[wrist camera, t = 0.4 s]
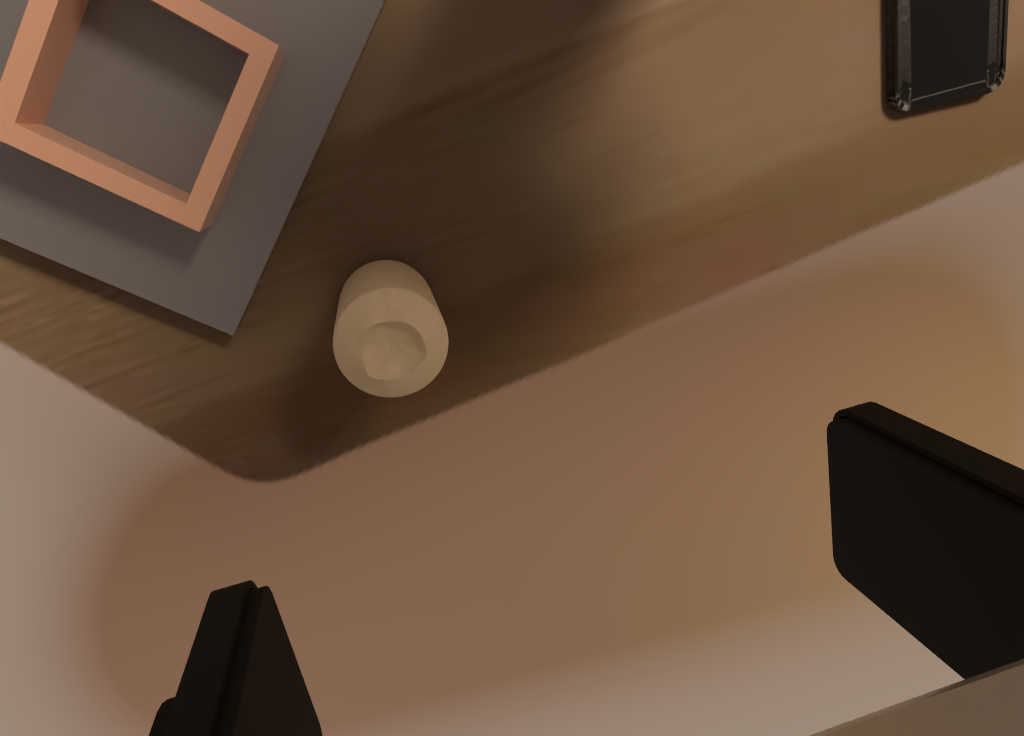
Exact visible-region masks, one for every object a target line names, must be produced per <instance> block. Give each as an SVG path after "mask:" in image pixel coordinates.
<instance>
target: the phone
mask: <svg viewBox="0 0 1024 736" xmlns="http://www.w3.org/2000/svg"><path fill="white" fill-rule="evenodd" d="M1008 3H1009V0H886V83H887V102H888V104H889V106H890V107H891V108H892V109H893V110H895V111H898V112H901V111H914V110H918V109H923V108H927V107H931V106H936V105H940V104H944V103H949V102H953V101H957V100H962V99H966V98H970V97H975V96H979V95H983V94H988V93H990V92H993V91H994V90H996V89H997V88H998V87H999V85H1000V84H1001V83H1002V81H1003V78H1004V75H1005V66H1006V45H1007V24H1008Z"/></svg>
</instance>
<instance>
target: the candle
mask: <svg viewBox="0 0 1024 736" xmlns="http://www.w3.org/2000/svg"><path fill="white" fill-rule="evenodd" d="M448 344H449V339H448V332H447V328H446V325H445V322H444V320H443V317H442V315H441V313H440V310H439V308H438V306H437V303H436V301H435V299H434V296H433V294H432V292H431V289H430V288H429V286H428V284H427V282H426V281H425V279H424V278H423V277H422V276H421V275H420V274H419V272H417V271H416V270H415V269H414V268H412V267H410V266H409V265H406V264H404V263H402V262H398V261H393V260H378V261H373V262H370V263H367V264H365V265H363V266H361V267H360V268H358V269H357V270H356V271H354V272H353V273H352V274H351V275H350V277H349V278H348V279H347V281H346V282H345V284H344V286H343V288H342V291H341V294H340V298H339V303H338V309H337V315H336V321H335V327H334V334H333V351H334V356H335V359H336V362H337V364H338V366H339V368H340V370H341V372H342V373H343V375H344V376H345V377H346V378H347V379H348V380H349V381H350V382H351V383H352V384H353V385H354V386H356V387H357V388H359V389H361V390H362V391H364V392H366V393H369V394H372V395H375V396H380V397H401V396H406V395H409V394H412V393H414V392H417V391H419V390H420V389H422V388H424V387H425V386H427V385H428V384H429V383H430V382H431V381H432V380H433V379H434V378H435V377H436V376H437V375H438V373H439V372H440V370H441V369H442V367H443V365H444V363H445V360H446V357H447V353H448Z"/></svg>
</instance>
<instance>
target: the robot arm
mask: <svg viewBox="0 0 1024 736" xmlns="http://www.w3.org/2000/svg"><path fill="white" fill-rule="evenodd" d="M827 445H828V465H829V484H830V503H831V521H832V522H831V523H832V542H833V557H834V562H835V564H836V567H837V569H838V571H839V572H840V573H841V575H842V576H843V577H844V578H845V579H846V580H847V581H848V582H849V583H851V584H852V585H853V586H854V587H855V588H857V589H858V590H859V591H860V592H862V594H864V595H865V596H866V597H867V598H868V599H870V600H871V601H872V602H873V603H874V604H876V605H877V606H878V607H879V608H880V609H882V610H883V611H884V612H885V613H886V614H887V615H889V616H890V617H891V618H892V619H894V620H895V621H896V622H897V623H898V624H900V625H901V626H902V627H903V628H904V629H905V630H907V631H908V632H909V633H910V634H911V635H913V636H914V637H915V638H916V639H917V640H918V641H920V642H921V643H922V644H923V645H924V646H926V647H927V648H928V649H929V650H930V651H932V652H933V653H934V654H935V655H936V656H937V657H939V658H940V659H941V660H942V661H943V662H945V663H946V664H947V665H948V666H949V667H951V668H952V669H953V670H954V671H955V672H957V673H958V674H959V675H960V676H961V677H962V678H964V679H965V680H963V681H960V682H957V683H955V684H951V685H949V686H946V687H943V688H940V689H938V690H935V691H932V692H929V693H926V694H924V695H921V696H918V697H915V698H912V699H910V700H907V701H904V702H901V703H899V704H895V705H893V706H890V707H887V708H884V709H882V710H879V711H876V712H873V713H870V714H868V715H865V716H862V717H860V718H857V719H854V720H852V721H849V722H846V723H843V724H840V725H837V726H835V727H832V728H829V729H827V730H824V731H821V732H818V733H815V734H813V735H810V736H1024V470H1023V469H1021V468H1018V467H1016V466H1014V465H1012V464H1010V463H1007V462H1005V461H1003V460H1001V459H998V458H996V457H994V456H992V455H990V454H987V453H985V452H983V451H981V450H978V449H976V448H974V447H972V446H969V445H968V444H965V443H963V442H961V441H959V440H957V439H954V438H952V437H950V436H948V435H946V434H943V433H941V432H939V431H936V430H935V429H932V428H930V427H928V426H926V425H924V424H921V423H919V422H917V421H915V420H913V419H910V418H908V417H906V416H903V415H902V414H899V413H897V412H895V411H893V410H890V409H888V408H886V407H884V406H882V405H879V404H877V403H874V402H867V403H863V404H860V405H856V406H853V407H850V408H846V409H842V410H839V411H838V412H837V413H836V414H835V415H834V418H833V421H832V422H830V423H829V425H828V427H827ZM149 736H322V731H321V727H320V723H319V721H318V718H317V715H316V712H315V709H314V707H313V704H312V701H311V698H310V696H309V693H308V690H307V687H306V685H305V682H304V679H303V676H302V674H301V671H300V668H299V665H298V663H297V660H296V657H295V654H294V652H293V649H292V646H291V644H290V641H289V638H288V635H287V632H286V630H285V627H284V624H283V622H282V619H281V616H280V613H279V610H278V608H277V605H276V602H275V599H274V597H273V594H272V592H271V590H270V588H269V587H268V586H264V587H260V588H257V586H256V585H255V583H254V582H253V581H251V580H250V581H246V582H243V583H239V584H236V585H232V586H229V587H225V588H222V589H219V590H215V591H213V592H211V594H210V595H209V598H208V601H207V604H206V607H205V610H204V613H203V616H202V619H201V622H200V625H199V628H198V631H197V634H196V637H195V640H194V643H193V646H192V649H191V652H190V655H189V658H188V661H187V664H186V667H185V670H184V673H183V675H182V678H181V681H180V684H179V687H178V691H177V693H176V696H175V697H174V698H170V699H167V700H166V701H165V702H163V703H162V704H161V706H160V708H159V710H158V712H157V714H156V717H155V720H154V723H153V725H152V728H151V731H150V734H149Z"/></svg>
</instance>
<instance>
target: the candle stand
mask: <svg viewBox="0 0 1024 736" xmlns="http://www.w3.org/2000/svg"><path fill="white" fill-rule="evenodd" d="M385 2H386V0H0V238H1V239H3V240H5V241H8V242H10V243H12V244H15V245H17V246H20V247H22V248H24V249H27V250H29V251H32V252H34V253H36V254H39V255H41V256H44V257H46V258H48V259H51V260H53V261H55V262H58V263H60V264H63V265H65V266H67V267H70V268H72V269H75V270H77V271H79V272H82V273H84V274H87V275H89V276H91V277H94V278H96V279H98V280H101V281H103V282H106V283H108V284H110V285H113V286H115V287H118V288H120V289H122V290H125V291H127V292H129V293H132V294H134V295H137V296H139V297H141V298H144V299H146V300H149V301H151V302H153V303H156V304H158V305H161V306H163V307H165V308H168V309H170V310H172V311H175V312H177V313H180V314H182V315H184V316H187V317H189V318H192V319H194V320H196V321H199V322H201V323H203V324H206V325H208V326H211V327H213V328H215V329H218V330H220V331H223V332H225V333H227V334H230V335H232V336H233V335H234V334H235V332H236V331H237V330H238V328H239V325H240V323H241V321H242V319H243V316H244V314H245V312H246V310H247V308H248V305H249V303H250V301H251V299H252V297H253V294H254V292H255V290H256V288H257V285H258V283H259V281H260V279H261V277H262V274H263V272H264V270H265V268H266V266H267V263H268V261H269V259H270V257H271V254H272V252H273V250H274V248H275V246H276V243H277V241H278V239H279V237H280V234H281V232H282V230H283V228H284V226H285V223H286V221H287V219H288V217H289V215H290V212H291V210H292V208H293V206H294V203H295V201H296V199H297V197H298V195H299V192H300V190H301V188H302V186H303V184H304V181H305V179H306V177H307V175H308V172H309V170H310V168H311V166H312V164H313V161H314V159H315V157H316V155H317V153H318V150H319V148H320V146H321V144H322V141H323V139H324V137H325V135H326V133H327V130H328V128H329V126H330V124H331V121H332V119H333V117H334V115H335V113H336V110H337V108H338V106H339V104H340V102H341V99H342V97H343V95H344V93H345V90H346V88H347V86H348V84H349V82H350V79H351V77H352V75H353V73H354V71H355V68H356V66H357V64H358V62H359V59H360V57H361V55H362V53H363V51H364V48H365V46H366V44H367V42H368V39H369V37H370V35H371V33H372V31H373V28H374V26H375V24H376V22H377V20H378V17H379V15H380V13H381V11H382V8H383V6H384V4H385Z"/></svg>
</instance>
